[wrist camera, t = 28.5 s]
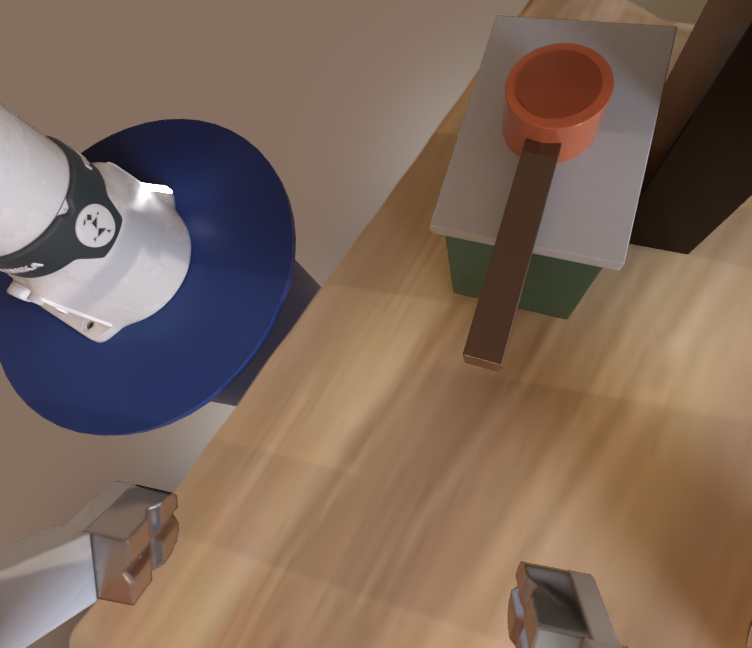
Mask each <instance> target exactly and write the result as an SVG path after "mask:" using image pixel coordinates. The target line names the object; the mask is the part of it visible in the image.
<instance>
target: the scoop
mask: <svg viewBox="0 0 752 648" xmlns="http://www.w3.org/2000/svg"><path fill="white" fill-rule="evenodd" d="M613 90H614V75H613V72H612V69H611V67H610V65H609V63H608V62H607V61H606V59H605V58H604V57H603V56H601V55H600V54H599V53H598V52H596V51H594V50H592V49H591V48H588V47H585V46H582V45H578V44H572V43H557V44H551V45H547V46H543V47H540V48H538V49H535V50H534V51H532V52H530V53H528V54H527V55H525V56H524V57H523V58H521V59H520V60H519V61H518V62H517V63H516V64H515V66H514V67H513V68H512V70H511V71H510V73H509V75H508V77H507V80H506V84H505V95H504V107H503V120H502V133H503V137H504V140H505V142H506V144H507V145H508V147H509V148H510V149H511V150H512V151H513V152H514V153H515V154H516V155H518V156H519V157H520V159H519V162H518V166H517V169H516V173H515V176H514V179H513V183H512V186H511V190H510V193H509V197H508V200H507V204H506V207H505V210H504V214H503V217H502V221H501V224H500V228H499V231H498V235H497V238H496V241H495V245H494V248H493V252H492V255H491V259H490V262H489V266H488V269H487V273H486V276H485V279H484V283H483V286H482V290H481V293H480V297H479V300H478V304H477V307H476V310H475V314H474V317H473V321H472V324H471V328H470V331H469V335H468V338H467V341H466V345H465V348H464V352H463V358H464V362H465V363H468V364H472V365H475V366H479V367H482V368H486V369H489V370H493V371H497V372H500V371H501V367H502V364H503V360H504V357H505V353H506V349H507V345H508V342H509V338H510V334H511V331H512V327H513V323H514V320H515V316H516V312H517V309H518V305H519V301H520V297H521V294H522V290H523V286H524V283H525V279H526V275H527V272H528V268H529V264H530V261H531V257H532V253H533V250H534V246H535V242H536V238H537V235H538V231H539V227H540V224H541V220H542V216H543V213H544V209H545V205H546V202H547V198H548V194H549V190H550V187H551V183H552V179H553V176H554V172H555V168H556V165H557V163H561V162H565V161H568V160H571V159H573V158H575V157H577V156H578V155H580V154H581V153H583V152H584V151H585V150H586V149H587V148H588V147H589V146H590V145H591V144H592V143H593V141H594V140H595V138H596V136H597V133H598V131H599V128H600V126H601V123H602V120H603V118H604V115H605V112H606V110H607V107H608V105H609V102H610V99H611V97H612V94H613Z"/></svg>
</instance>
